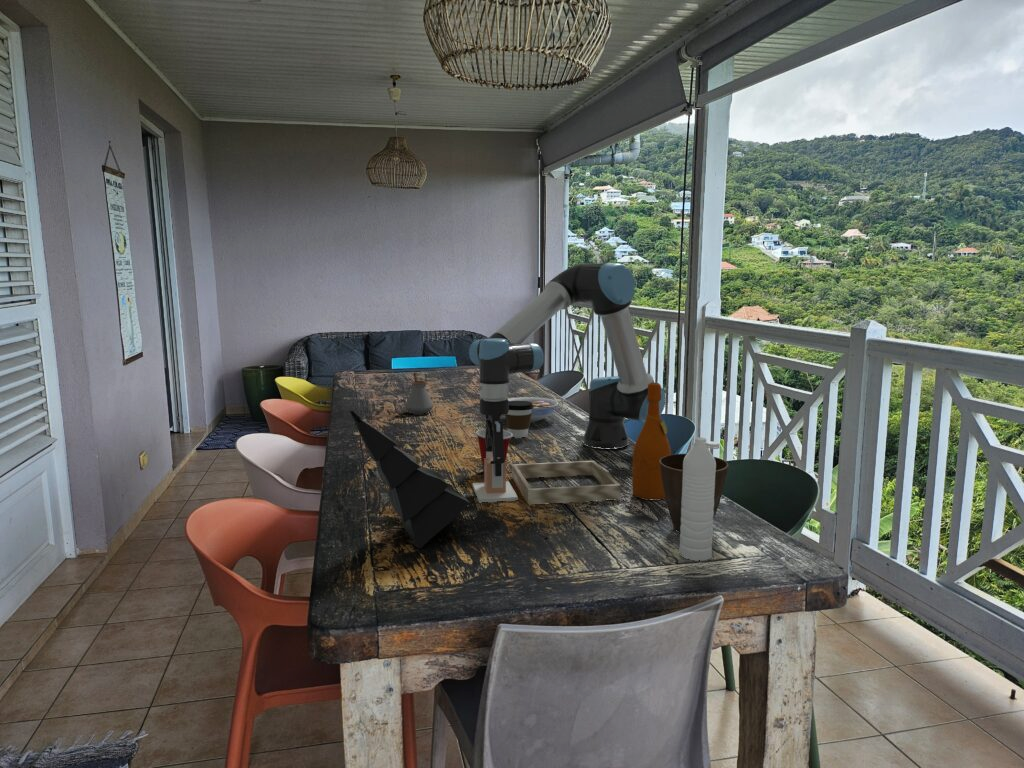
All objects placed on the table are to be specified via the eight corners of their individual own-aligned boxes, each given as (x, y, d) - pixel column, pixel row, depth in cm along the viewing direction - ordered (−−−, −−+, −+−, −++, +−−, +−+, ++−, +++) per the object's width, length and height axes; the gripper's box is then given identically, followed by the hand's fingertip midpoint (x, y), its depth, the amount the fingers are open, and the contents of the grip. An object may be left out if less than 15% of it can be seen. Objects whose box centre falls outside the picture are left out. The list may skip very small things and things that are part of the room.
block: (502, 486, 190) (502, 457, 189) (505, 492, 185) (505, 462, 184) (484, 487, 189) (484, 458, 188) (486, 493, 184) (486, 463, 183)
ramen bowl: (571, 419, 280) (571, 398, 279) (542, 430, 261) (542, 408, 260) (517, 412, 293) (517, 393, 292) (486, 422, 274) (486, 401, 273)
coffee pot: (435, 414, 289) (434, 378, 286) (406, 416, 286) (406, 379, 283) (428, 405, 309) (427, 371, 307) (401, 406, 306) (400, 372, 304)
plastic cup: (508, 478, 201) (508, 437, 199) (471, 476, 203) (471, 435, 201) (516, 467, 211) (516, 428, 209) (480, 465, 213) (480, 427, 211)
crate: (593, 473, 205) (593, 460, 204) (620, 500, 182) (620, 485, 181) (512, 478, 201) (512, 464, 200) (528, 505, 178) (528, 490, 177)
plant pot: (713, 547, 151) (717, 475, 148) (647, 534, 159) (649, 464, 156) (732, 526, 163) (736, 459, 161) (670, 514, 171) (672, 450, 168)
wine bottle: (647, 504, 179) (651, 387, 174) (624, 493, 187) (627, 381, 182) (677, 498, 183) (682, 384, 178) (653, 488, 192) (657, 378, 187)
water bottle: (673, 551, 148) (677, 435, 144) (699, 548, 151) (705, 433, 147) (696, 568, 140) (702, 445, 136) (724, 563, 142) (730, 442, 138)
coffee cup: (497, 438, 248) (497, 404, 247) (509, 431, 258) (509, 399, 257) (527, 441, 244) (527, 406, 242) (537, 434, 254) (538, 401, 252)
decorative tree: (412, 539, 164) (317, 426, 152) (461, 497, 167) (371, 383, 155) (429, 563, 151) (326, 441, 139) (482, 517, 154) (386, 394, 142)
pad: (508, 484, 195) (508, 481, 195) (517, 500, 181) (517, 497, 181) (472, 486, 193) (472, 483, 193) (479, 502, 179) (479, 499, 179)
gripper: (474, 391, 194) (474, 469, 197) (485, 407, 171) (486, 495, 175) (501, 390, 195) (501, 468, 198) (516, 406, 172) (516, 493, 176)
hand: (494, 481), depth 187 cm, fingers open, 10 cm apart
